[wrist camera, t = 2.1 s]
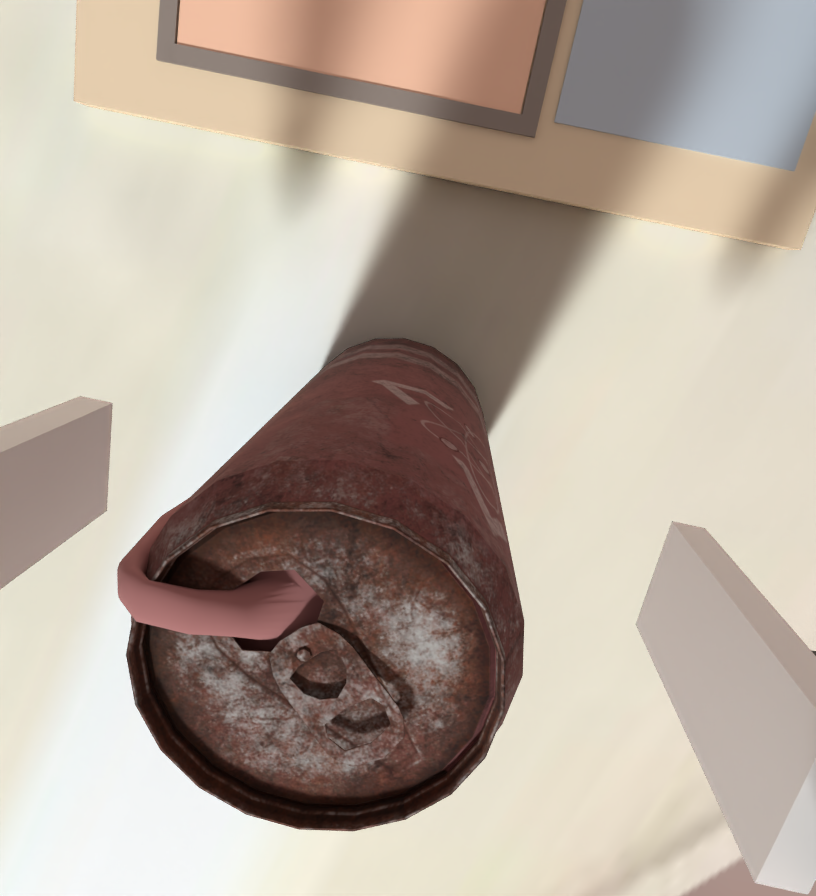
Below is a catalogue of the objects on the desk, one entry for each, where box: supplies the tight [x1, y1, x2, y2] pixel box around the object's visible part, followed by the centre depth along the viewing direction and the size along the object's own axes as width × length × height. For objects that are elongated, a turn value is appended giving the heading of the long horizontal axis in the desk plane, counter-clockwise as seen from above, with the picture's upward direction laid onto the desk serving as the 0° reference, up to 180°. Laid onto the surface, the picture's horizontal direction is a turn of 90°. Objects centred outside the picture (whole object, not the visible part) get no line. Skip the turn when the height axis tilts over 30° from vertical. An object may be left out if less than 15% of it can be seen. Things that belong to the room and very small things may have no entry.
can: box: [117, 338, 524, 831], centre depth 16 cm, size 6×6×14 cm
